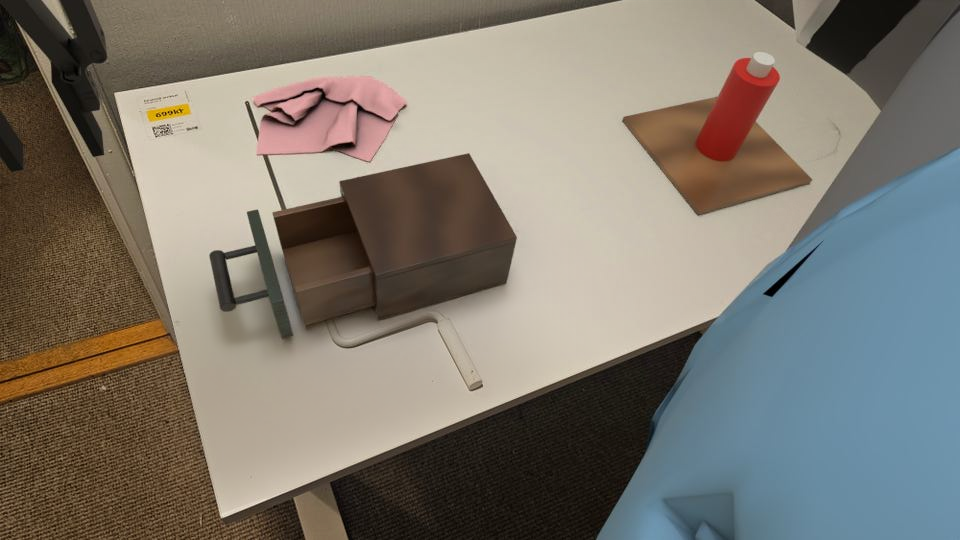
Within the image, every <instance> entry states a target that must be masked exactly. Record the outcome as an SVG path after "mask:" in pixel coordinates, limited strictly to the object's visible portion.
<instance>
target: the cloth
mask: <svg viewBox="0 0 960 540" xmlns="http://www.w3.org/2000/svg"><path fill="white" fill-rule="evenodd" d="M252 98H253V102H254V103H255V105H256V107H257V108H258V107H259V106H263V107H264V108H265V109H267V110H269V111H271V112H269V113H268V112H267V113H265V114H264V115H262V116H261V120H260V125H259V132H258V139H257V144H256V145H257V146H256V156H260V155H261V156H262V155H263V156H267V155H268V156H269V155H295V154H315V153H323V152H324V151H326V150H328V149H331V150H333V151H336V152H339V153H341V154H344V155H346V156H350V157H352V158H355V159H358V160H360V161H364V162H367V163H371V161H372V159H373V158H374V156H375V155H376V154H377V152H378V151H379V149H380V147H381V146H382V144H383V142H384V141H385V139H386V138H387V137H388V134H389V133H390V130H391V129H392V128H393V126H394V124H395V122H396V120H397V117H396V116H397V114H398V113H399V111H400V110H401V109H402V108H403V107H404V106H406V105H407V104H408V101H407V100H406V99H404V97H402V96H401V95H400V94H398V92H397V91H396V90H394V89H393V88H391V87H390V86H388V84H386V83H384V82H383V81H380V80H378V79H376V78H374V77H372V76H370V75H359V76H355V75H348V76H345V77H344V76H322V77H314V78H309V79H306V80H304V81H298V82H297V81H296V82H292V83H289V84H287V85H285V86H279V87H275V88H272V89H269V90H267V91H265V92H263V93H261V94H257V95H254V96H252ZM278 109H281V110H278ZM273 111H275V112H273Z"/></svg>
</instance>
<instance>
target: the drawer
mask: <svg viewBox="0 0 960 540" xmlns="http://www.w3.org/2000/svg"><path fill="white" fill-rule="evenodd" d="M246 216H247V219H248V224H249V227H250V231H251V234H252V238H253V239H252V240H253V242H254V245H250V246H246V247H242V248H238V249H234V250H229V251H226V252H224V251H223V250H220V249H216V250H213V251H211V252H210V253H209V255H208V256H209V261H210V262H209V263H210V266H211V272H212V276H213V281H214V286H215V290H216V295H217V301H218V304H219V305H218V306H219V309H220V311H221V312H225V313H228V312H232V311H234V310H235V309H236V308H237V306H238V305H242V304H246V303H250V302H254V301H258V300H261V299H265V298H268V299H269V303H270V306H271V309H272V312H273V316H274V318H275V322H276V325H277V328H278V331H279V334H280V337H281V340H285V339H288V338H292V337H294V332H293V329H292V324H291V321H290V318H289V314H288V311H287V307H286V303H285V300H284V296H283V292H282V289H281V286H280V282H279V278H278V274H277V270H276V267H275V263H274V260H273V256H272V253H271V249H270V246H269V242H268V239H267V236H266V233H265V229H264V225H263V222H262V219H261V214H260V210H259V209H251V210H249V211H248V210H247V211H246ZM272 217H273V222H274V224H275V228H276V232H277V236H278V240H279V243H280V248H281V251H282V255H283V259H284V261H285V265H286V269H287V271H288V275H289V279H290V281H291V286H292V289H293V292H294V295H295V299H296V302H297V307H298V309H299V313H300V316H301V320H302V323H303V326H308V325H311V324H315V323H318V322H322V321H326V320H329V319H332V318H336V317H340V316H342V315H346V314H350V313H354V312H357V311H360V310H364V309H367V308H372V307H373V306H375V305H376V298H375V284H374V273H373V271H372V268H371V265H370V263H369V260H368V258H367V255H366V253H365V250H364V247H363V245H362V242H361V240H360V237H359V234H358V232H357V229H356V227H355V224H354V221H353V219H352V216H351V214H350V211H349V209H348V206H347V203H346V201H345V198H344V196H343V197H341V196H338V197H333V198H330V199H325V200H321V201H317V202H316V201H315V202H311V203H308V204H307V203H306V204H303V205H298V206H294V207H290V208H284V209H280V210H276V211H272ZM252 254H257V258H258V261H259V266H260V269H261V273H262V276H263V280H264V284H265V287H266V288H265V289H261V290H259V291H258V290H257V291H254V292H250V293H247V294H243V295H240V296H236V297H235V293H234V290H233V285H232V281H231V277H230V272H229V267H228V263H227V260H232V259H236V258H240V257H245V256H249V255H252Z"/></svg>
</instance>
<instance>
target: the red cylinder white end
mask: <svg viewBox="0 0 960 540" xmlns="http://www.w3.org/2000/svg"><path fill="white" fill-rule="evenodd" d="M775 63H776V60H775V58H774V57H773V56H772V55H771V54H769V53H767V52H765V51H763V52H762V51H756V52H754V53H753V54H752V56H751V57H742V58H739V59H738V60H736V61H735V62H734V64H733V66H732V68H731V69H730V72H729V73H728V75H727V77H726V78H725V79H726V80H725V81H724V84H723V86H722V88H721V90H720V92H719V93H718V95H717V96H716V97H717V99H716V101H715V103H714V105H713V107H712V109H711V111H710V113H709V115H708V117H707V119H706V121H705V123H704V125H703V127H702V129H701V131H700V133H699V135H698V137H697V139H696V146H697V148H698V150H699V151H700V152H701V153H702V154H703V155H704V156H706V157H708V158H710V159H712V160H716V161H729V160H731V159H733V158H734V157H735V156H736V154H737V152H738V151H739V149H740V147H741V145H742V144H743V142H744V140H745V139H746V137H747V135H748V133H749V132H750V130H751V128H752V127H753V125H754V123H755V121H756V122H757V120H758V118H759V116H760V115H761V113H762V111H763V109H764V108H765V106H766V104H767V103H768V101H769V99H770V97H771V96H772V94H773V93H774V91H775V89H776V87H777V86H778V84H779V82H780V79H781V76H780V73H779V71H778V70H777V69H776V68H775V67H774V66H775Z"/></svg>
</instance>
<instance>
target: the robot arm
mask: <svg viewBox="0 0 960 540" xmlns="http://www.w3.org/2000/svg"><path fill="white" fill-rule="evenodd" d="M59 2H60V4H61V6H62V9H63V10H64V13H65V15H66V16H67V20H68V22H69V23H70V26H71V28H72V30H73V32H74V34H75V36H76V37H74V38H73V37H72V36H71V34H70V33H69V32H68V31H67V30H66V28H65V27H64V25H62V23H61V22H60V21H59V20H58V19H57V17H56V16H55V14H53V12H52V11H51V9H50V8H49V7H48V6H47V5H46V3H45V2H44V1H43V0H0V5H1V6H2V7H3V8H4V9H5V11H6V12H7V13H8V14H9V15H10V16H11V18H12V19H13V20H14V21H15V22H16V23H17V24H18V25H19V27H20V28H21V29H22V30H23V31H24V32H25V34H27V36H28V37H29V38H30V39H31V40H32V41H33V42H34V44H35V45H36V46H37V47H38V48H39V49H40V51H41V52H42V53H43V55H45V57H46V58H48V60H49V61H50V78H51V84H52V86H53V87H54V90H55V92H56V93H57V95H58V97H59V98H60V100H61V102H62V104H63V106H64V107H65V109H66V111H67V113H68V115H69V116H70V118H71V120H72V122H73V124H74V126H75V127H76V129H77V131H78V133H79V135H80V136H81V138H82V140H83V142H84V144H85V146H86V147H87V149H88V151H89V153H90V154H91V156H92V158H96V157H102V156H105V147H104V138H103V131H102V129H101V127H100V125H99V122H98V121H97V119H96V117H95V115H94V113H93V112H97V111H100V110H101V99H100V91H99V89H98V87H97V85H96V83H95V80H94V79H93V76H92V75H91V72H90V70H89V69H88V67H89V66H90V65H91V64H97V65H98V64H99V65H100V64H104V63H105V62H106V61H107V59H108V52H107V43H106V36H105V35H106V34H105V32H104V30H103V27H102V24H101V22H100V20H99V17H98V16H97V13H96V10H95V7H94V5H93V3H92V1H91V0H59ZM791 2H792V11H793V19H794V29H795V30H794V32H795V41H796V43H797V44H799V45H801V46H802V47H803V48H805V49H806V50H808V51H809V52H811V53H812V54H814V55H815V56H817V58H820V59H821V60H822V61H824V62H825V63H827V64H829V66H831V67H833V68H835V69H836V70H838V71H839V72H840V73H842V74H844V75H845V76H846V77H848V78H849V79H850V80H851V81H852V82H854V84H855V85H857V86H858V87H859V88H860V89H862V90H863V91H864V92H865V93H866V94H867V95H868V97H869V98H870V99H871V101H872V102H873V103H874V104H875V105H876V107H877V108H878V109H879V113H878V115H877V116H876V118H875V119H874V121H873V122H872V123H871V125H870V127H869V128H868V129H867V131H866V133H865V134H864V135H863V137H862V138H861V140H860V141H859V143H858V144H857V146H856V147H855V149H854V150H853V151H852V153H851V154H850V156H849V157H848V159H847V160H846V161H845V163H844V165H843V166H842V168H840V171H839V172H838V173H837V175H836V176H835V178H834V179H833V181H832V182H831V184H830V185H829V187H828V188H827V190H826V191H825V192H824V194H823V196H822V197H821V198H820V199H819V201H818V203H817V204H816V205H815V207H814V209H812V212H811V213H810V214H809V216H808V218H807V219H806V220H805V221H804V223H803V225H802V226H801V228H800V229H799V231H798V232H797V234H796V235H795V237H794V238H793V239H792V241H791V242H790V244H789V245H788V247H787V248H786V250H785V251H784V252H782V253H781V254H780V255H779V256H777V257H776V258H774V259H773V260H771V261H770V262H769V263H767V264H766V265H765V266H764V267H763V268H762V269H761V270H760V271H759V272H758V274H757V275H756V276H754V278H753V279H752V280H751V281H750V282H749V283H748V284H747V285H746V286H745V288H743V290H742V291H741V292H740V293H739V294H738V295H737V296H736V297H735V298H734V299H733V300H732V302H730V303H729V304H728V306H726V308H725V309H724V310H723V311H722V312H721V313H720V314H719V315H718V316H717V318H716V319H715V320H714V321H713V322H712V324H711V325H709V327H708V328H707V329H706V331H705V332H704V333H703V334H702V335H701V337H700V338H699V339H698V340H697V342H696V343H695V344H694V346H693V348H692V350H691V352H690V354H689V356H688V359H687V360H686V362H685V364H684V366H683V368H682V370H681V372H680V374H679V376H678V377H677V379H676V381H675V382H674V384H673V386H672V388H671V389H670V391H669V392H668V393H667V395H666V396H665V398H664V399H663V400H662V401H661V403H660V404H659V406H658V408H657V409H656V410H655V412H654V414H653V416H652V418H651V420H650V426H649V430H648V434H647V435H648V436H647V441H646V446H645V452H644V456H643V457H642V458H641V460H640V463H639V464H638V466H637V468H636V470H635V471H634V473H633V475H632V477H631V479H630V481H629V482H628V484H627V486H626V487H625V489H624V491H623V493H622V494H621V496H620V498H619V499H618V501H617V503H616V504H615V506H614V507H613V509H612V511H611V512H610V515H609V516H608V518H607V519H606V521H605V522H604V524H603V526H602V527H601V529H600V531H599V533H598V535H597V537H596V538H595V540H960V0H792V1H791ZM0 159H1V160H2V161H3V163H4V164H5V165H6V167H7V169H8V170H9V172H11V173H14V172H19V171H23V170H24V143H23V142H22V140H21V139H20V138H19V136H18V134H17V133H16V130H14V128H13V126H12V125H11V124H10V122H9V121H8V119H7V118H6V116H5V114H4V113H3V112H2V110H1V109H0Z"/></svg>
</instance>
